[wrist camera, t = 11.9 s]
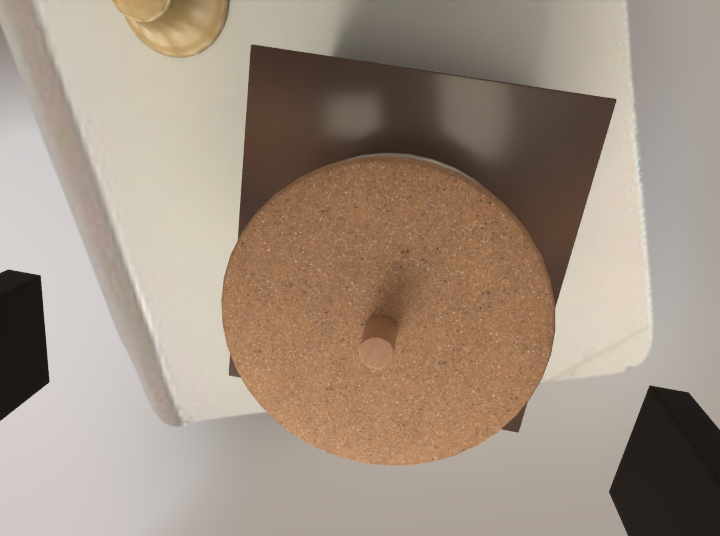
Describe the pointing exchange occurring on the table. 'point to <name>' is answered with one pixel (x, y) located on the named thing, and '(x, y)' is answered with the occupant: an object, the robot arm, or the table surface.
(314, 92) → the bookshelf
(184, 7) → the hand bell
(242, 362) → the trinket box
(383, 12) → the table surface
